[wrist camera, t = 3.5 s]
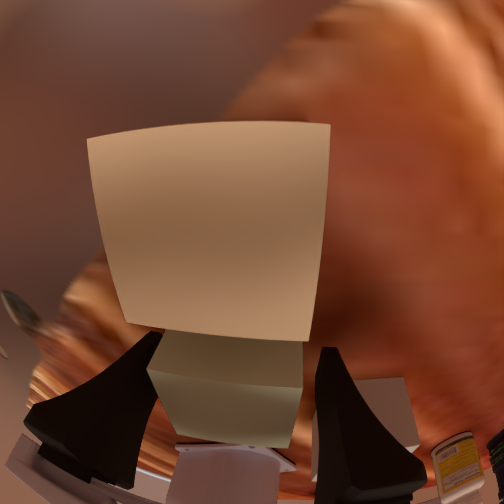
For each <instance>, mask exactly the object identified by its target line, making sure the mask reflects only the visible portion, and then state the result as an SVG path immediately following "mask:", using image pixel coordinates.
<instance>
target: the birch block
mask: <svg viewBox="0 0 504 504" xmlns="http://www.w3.org/2000/svg"><path fill="white" fill-rule="evenodd" d="M87 145H88V155H89V163H90V171H91V179H92V186H93V192H94V198H95V203H96V209H97V215H98V220H99V225H100V229H101V234H102V238H103V243H104V247H105V251H106V255H107V259H108V263H109V267H110V271H111V274H112V278H113V282H114V285H115V288H116V292H117V295H118V298H119V302H120V305H121V308H122V311H123V314H124V317H125V320H126V322H127V323H133V324H139V325H144V326H151V327H157V328H164V329H170V330H178V331H185V332H193V333H201V334H210V335H220V336H230V337H241V338H253V339H268V340H285V341H309V336H310V330H311V324H312V317H313V311H314V304H315V297H316V290H317V283H318V275H319V267H320V259H321V250H322V241H323V231H324V221H325V209H326V197H327V183H328V167H329V148H330V124H323V123H315V122H304V121H278V120H238V121H212V122H197V123H184V124H174V125H165V126H157V127H150V128H144V129H137V130H130V131H125V132H119V133H114V134H108V135H103V136H99V137H94V138H89V139H87Z"/></svg>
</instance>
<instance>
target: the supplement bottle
mask: <svg viewBox="0 0 504 504" xmlns="http://www.w3.org/2000/svg"><path fill="white" fill-rule="evenodd" d="M431 457H432V463H433V467H434V472H435V478H436V483H437V489H438V495H439V497H440V498H441V503H442V504H481V503H483V499H482V495H481V493H479V488H480V487H481V486H482V485H483V484H484V481H485V478H484V473H483V469H482V465H481V461H480V457H479V454H478V450H477V447H476V444H475V440H474V437H473V435H472V433H471V432H464V433H461V434H458V435H456V436H454V437H452V438H450V439H448V440H446V441H444V442H442V443H441V444H439V445H438V446H437V447H436V448H435V449H434V450H433V451H432V453H431Z"/></svg>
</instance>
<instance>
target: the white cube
mask: <svg viewBox="0 0 504 504" xmlns="http://www.w3.org/2000/svg"><path fill="white" fill-rule="evenodd" d="M353 382H354V384H355V385H356V387H357V389H358V390H359V392H360V394H361V395H362V397H363V399H364V400H365V402H366V403H367V405H368V406H369V408H370V409H371V410H372V412H373V413H374V414H375V416H376V417H377V418H378V420H379V421H380V422H381V423H382V424H383V426H384V427H385V428H386V429H387V430H388V431H389V432H390V433H391V434H392V435H393V436H394V437H395V439H396V440H397V441H398V442H399V443H401V444H402V445H403V446H404V447H405V448H406V449H407V450H408V451H409V452H411V453H412V452H413V451H414V450H415V449H416V448H417V447H418V446H419V445H420V441H419V436H418V432H417V427H416V423H415V419H414V415H413V411H412V407H411V403H410V400H409V396H408V392H407V389H406V385H405V382H404V378H403V377H396V378H382V379H364V380H353ZM318 455H319V434H318V423H317V412H316V410H315V413H314V416H313V419H312V472H311V481H317V472H318Z"/></svg>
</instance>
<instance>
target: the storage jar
mask: <svg viewBox="0 0 504 504" xmlns="http://www.w3.org/2000/svg"><path fill="white" fill-rule="evenodd" d="M487 448H488V450H489V456H492V457H491V458H490V462H491V465H493V464H494V465H493V466H492V468H493V469H492V470H493V472H494V473H495V474H496V478H497V482H498V487H499V493H498V496H499V500H501V499H503V501H501V502H500V503H499V504H504V429H503V430H502V431H501V432H500V433H498V434H497V435H496V436H495V437H494V438H493V439H492V440H491V441H490V442H489V443H488V444H487Z"/></svg>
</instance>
